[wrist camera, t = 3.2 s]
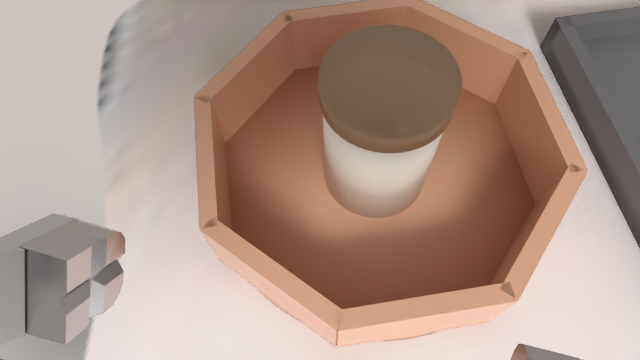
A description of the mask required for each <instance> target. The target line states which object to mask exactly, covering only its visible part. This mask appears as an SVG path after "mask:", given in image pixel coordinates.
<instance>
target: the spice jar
mask: <svg viewBox="0 0 640 360" xmlns="http://www.w3.org/2000/svg"><path fill="white" fill-rule="evenodd" d="M318 87H319V103H320V108H321V111H322V114H323V144H324V176H325V182H326V186H327V188H328V190H329V192H330V194H331V195H332V197H333V198H334V199H335V201H336V202H338V203H339V204H340V205H341V206H342V207H343V208H345V209H346V210H348V211H350V212H352V213H354V214H357V215H360V216H363V217H369V218H384V217H389V216H393V215H396V214H398V213H400V212H402V211H404V210H405V209H407V208H408V207H410V206H411V205H412V204H413V203H414V202H415V200H416V199H417V198H418V196H419V194H420V193H421V190H422V188H423V185H424V182H425V179H426V177H427V174H428V171H429V169H430V166H431V163H432V161H433V158H434V155H435V152H436V150H437V147H438V144H439V142H440V139H441V136H442V133H443V132H444V130H445V129H446V128H447V127H448V125H449V123H450V122H451V119H452V117H453V114H454V112H455V109H456V106H457V104H458V101H459V99H460V95H461V91H462V76H461V72H460V69H459V66H458V64H457V62H456V60H455V58H454V57H453V55H452V54H451V53H450V51H449V50H448V49H447V48H446V47H445V46H444V45H443V44H442V43H440V42H439V41H438V40H436V39H435V38H433V37H432V36H430V35H428V34H426V33H424V32H421V31H419V30H416V29H413V28H410V27H405V26H400V25H373V26H368V27H364V28H360V29H357V30H355V31H352V32H350V33H348V34H346V35H345V36H343V37H342V38H340V39H339V40H337V41H336V42H335V43H334V44H333V45H332V46H331V47H330V48H329V50H328V51H327V52H326V54H325V55H324V57H323V59H322V62H321V64H320V68H319V74H318Z"/></svg>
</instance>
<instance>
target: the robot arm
mask: <svg viewBox="0 0 640 360" xmlns="http://www.w3.org/2000/svg"><path fill="white" fill-rule="evenodd" d="M124 253H125V238H124V236H123V235H122V233H121V232H118V231H115V230H111V229H108V228H105V227H101V226H98V225H95V224H91V223H88V222H85V221H81V220H78V219H75V218H71V217H67V216H63V215H58V214H51V215H49V216H47V217H45V218H43V219H40V220H38V221H36V222H34V223H31V224H29V225H27V226H25V227H23V228H20V229H18V230H16V231H14V232H12V233H9V234H7V235H5V236H3V237H0V345H1V344H4V343H6V342H9V341H12V340H14V339H17V338H20V337H22V336H25V333H26V334H30V335H33V336H37V337H40V338H43V339H47V340H50V341H54V342H57V343H61V344H65V345H66V344H67V343H68V342H69V341H71V340H72V339H73V338H74V337H75V336H77V335H78V334H79V333H80V332H81V331H83V330H84V329H85V328H86V327H87V326H88V325H89V317H92V316H95V315H99V314H102V313H104V312H105V311H106V310H108V309H109V308H110V307H111V306H112V305H113V303H114V302H115V300H116V298H117V297H118V295H119V293H120V290H121V287H122V283H123V273H124V271H123V269H122V268H121V266H120V264H119V262H118V259H119V258H120V257H121V256H122V255H123V254H124ZM0 360H3V359H0ZM511 360H583V359H579V358H576V357H572V356H568V355H564V354H560V353H556V352H552V351H548V350H544V349H540V348H536V347H532V346H528V345H524V344H518V346H517V347H516V349H515V350H514V352H513V355H512V358H511Z"/></svg>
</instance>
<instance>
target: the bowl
mask: <svg viewBox="0 0 640 360" xmlns="http://www.w3.org/2000/svg"><path fill="white" fill-rule="evenodd" d="M373 25H400V26H405V27H410V28H413V29H416V30H419V31H421V32H424V33H426V34H428V35H430V36H432V37H433V38H435V39H436V40H438V41H439V42H440V43H442V44H443V45H444V46H445V47H446V48H447V49H448V50H449V51H450V53H451V54H452V55H453V57H454V58H455V60H456V62H457V64H458V66H459V69H460V72H461V76H462V91H461V95H460V99H459V101H458V104H457V106H456V109H455V112H454V114H453V117H452V119H451V122H450V123H449V125H448V127H447V128H446V129H445V130H444V132H443V133H442V136H441V139H440V142H439V144H438V147H437V150H436V152H435V155H434V158H433V161H432V163H431V166H430V169H429V171H428V174H427V177H426V179H425V182H424V185H423V188H422V190H421V193H420V194H419V196H418V198H417V199H416V200H415V202H414V203H413V204H412V205H411V206H410V207H408V208H407V209H405V210H404V211H402V212H400V213H398V214H396V215H393V216H389V217H384V218H369V217H363V216H360V215H357V214H354V213H352V212H350V211H348V210H346V209H345V208H343V207H342V206H341V205H340V204H339V203H338V202H336V201H335V199H334V198H333V197H332V195H331V194H330V192H329V190H328V188H327V186H326V182H325V176H324V144H323V114H322V111H321V108H320V103H319V87H318V74H319V68H320V64H321V62H322V59H323V57H324V55H325V54H326V52H327V51H328V50H329V48H330V47H331V46H332V45H333V44H334V43H335V42H336V41H337V40H339V39H340V38H342V37H343V36H345V35H346V34H348V33H350V32H352V31H355V30H357V29H360V28H364V27H368V26H373ZM529 51H530V50H527V49H525V48H523V47H521V46H519V45H517V44H515V43H512V42H510V41H508V40H506V39H504V38H502V37H499V36H497V35H495V34H493V33H491V32H489V31H487V30H484V29H482V28H480V27H478V26H476V25H474V24H472V23H469V22H467V21H465V20H463V19H461V18H459V17H456V16H454V15H452V14H450V13H448V12H446V11H444V10H441V9H439V8H437V7H435V6H433V5H431V4H428V3H426V2H424V1H422V0H368V1H360V2H352V3H345V4H337V5H329V6H321V7H313V8H305V9H298V10H290V11H284V12H282V13H281V14H280V15H279V16H278V17H277V18H276V19H275V20H274V21H273V22H271V23H270V24H269V25H268V26H267V27H266V28H265V29H264V30H263V31H262V32H261V33H260V34H259V35H258V36H257V37H256V38H255V39H254V40H253V41H252V42H251V43H250V44H248V45H247V46H246V47H245V48H244V49H243V50H242V51H241V52H240V53H239V54H238V55H237V56H236V57H235V58H234V59H233V60H232V61H231V62H230V63H229V64H228V65H227V66H225V67H224V68H223V69H222V70H221V71H220V72H219V73H218V74H217V75H216V76H215V77H214V78H213V79H212V80H211V81H210V82H209V83H208V84H207V85H206V86H205V87H204V88H202V89H201V90H200V91H199V92H198V93H197V94H196V95H195V97H194V111H195V135H196V158H197V182H198V205H199V229H200V231H201V232H202V234H203V235H204V237H205V239H206V240H207V242H208V243H209V245H210V246H211V248H212V250H213V251H214V253H215V254H216V256H217V258H218V259H219V260H220V261H221V262H222V263H224V264H225V265H226V266H228V267H229V268H230V269H232V270H233V271H234V272H236V273H237V274H238V275H240V276H241V277H242V278H244V279H245V280H246V281H248V282H249V283H250V284H252V285H253V286H254V287H256V288H257V289H258V290H259V292H260V293H262V294H263V295H264V296H265V297H266V298H267V299H268V300H270V301H271V302H272V303H273V304H274V305H275V306H277V307H278V308H280V309H281V310H283V311H284V312H286V313H287V314H289V315H290V316H292V317H293V318H295V319H297V320H299V321H301V322H302V323H304V324H305V325H306V326H308V327H309V328H310V329H312V330H313V331H314V332H316V333H317V334H318V335H320V336H321V337H322V338H324V339H325V340H326V341H328V342H329V343H330V344H332V345H333V346H334V347H336V346H337V348H338V347H344V346H350V345H356V344H362V343H368V342H374V341H392V340H402V339H411V338H415V337H419V336H423V335H428V334H432V333H435V332H437V331H440V330H445V329H451V328H457V327H463V326H469V325H475V324H481V323H487V322H489V321H490V320H492V319H493V318H495V317H496V316H497V315H499V314H500V313H501V312H503V311H504V310H506V309H507V308H508V307H510V306H511V305H513V304H514V303H515V302H517V301H518V300H519V298H520V296H521V294H522V293H523V291H524V289H525V287H526V285H527V283H528V281H529V280H530V278H531V276H532V274H533V272H534V270H535V268H536V267H537V265H538V263H539V261H540V259H541V257H542V255H543V254H544V252H545V250H546V248H547V246H548V244H549V242H550V240H551V239H552V237H553V235H554V233H555V231H556V229H557V227H558V226H559V224H560V222H561V220H562V218H563V216H564V214H565V213H566V211H567V209H568V207H569V205H570V203H571V201H572V200H573V198H574V196H575V194H576V192H577V190H578V188H579V187H580V185H581V183H582V181H583V179H584V177H585V175H586V174H587V172H588V171H587V168H586V165H585V163H584V161H583V159H582V157H581V155H580V153H579V151H578V149H577V147H576V145H575V143H574V141H573V138H572V136H571V134H570V132H569V130H568V128H567V126H566V124H565V122H564V120H563V118H562V116H561V113H560V111H559V109H558V107H557V105H556V103H555V101H554V99H553V97H552V95H551V93H550V91H549V89H548V86H547V84H546V82H545V80H544V78H543V76H542V74H541V72H540V70H539V68H538V66H537V64H536V62H535V59H534V57H533V55H532V53H531V52H529Z"/></svg>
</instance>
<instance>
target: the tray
mask: <svg viewBox="0 0 640 360" xmlns="http://www.w3.org/2000/svg"><path fill="white" fill-rule="evenodd" d="M540 47H541V49H542V51H543V53H544V55H545V57H546V59H547V61H548V63H549V65H550V67H551V69H552V71H553V73H554V75H555V77H556V80H557V82H558V84H559V86H560V88H561V90H562V92H563V94H564V96H565V98H566V100H567V102H568V104H569V106H570V108H571V110H572V112H573V114H574V116H575V118H576V120H577V122H578V124H579V126H580V128H581V130H582V132H583V134H584V136H585V138H586V140H587V142H588V144H589V146H590V148H591V150H592V152H593V154H594V156H595V158H596V160H597V162H598V164H599V166H600V168H601V170H602V172H603V174H604V176H605V178H606V180H607V182H608V184H609V186H610V188H611V190H612V192H613V194H614V196H615V198H616V200H617V202H618V204H619V206H620V208H621V210H622V212H623V214H624V216H625V218H626V220H627V222H628V224H629V227H630V229H631V231H632V233H633V235H634V237H635V239H636V241H637V243H638V245H639V247H640V7H634V8H626V9H619V10H611V11H604V12H596V13H589V14H581V15H573V16H566V17H558V18H555V20H554V22H553V24H552V26H551V28H550V30H549V31H548V33H547V35H546V37H545V39H544V41H543V43H542V44H541V46H540Z"/></svg>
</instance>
